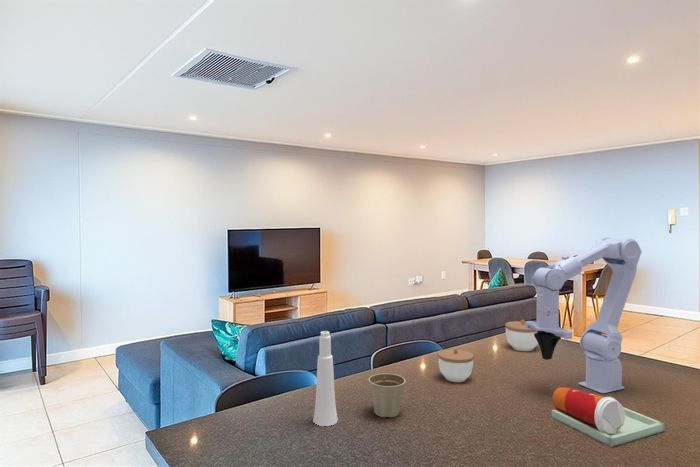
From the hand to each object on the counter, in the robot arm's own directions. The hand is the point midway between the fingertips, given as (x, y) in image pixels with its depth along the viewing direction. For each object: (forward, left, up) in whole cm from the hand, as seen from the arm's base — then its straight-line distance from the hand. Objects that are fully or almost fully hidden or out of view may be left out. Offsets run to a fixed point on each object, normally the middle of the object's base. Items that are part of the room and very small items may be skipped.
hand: (547, 358), depth 127 cm
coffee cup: (+6, +10, -6) cm, 14 cm away
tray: (+2, +20, -10) cm, 22 cm away
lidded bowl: (-27, -36, -10) cm, 46 cm away
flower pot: (+47, -7, -10) cm, 49 cm away
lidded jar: (+16, -20, -10) cm, 28 cm away
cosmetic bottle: (+63, -9, -10) cm, 65 cm away
